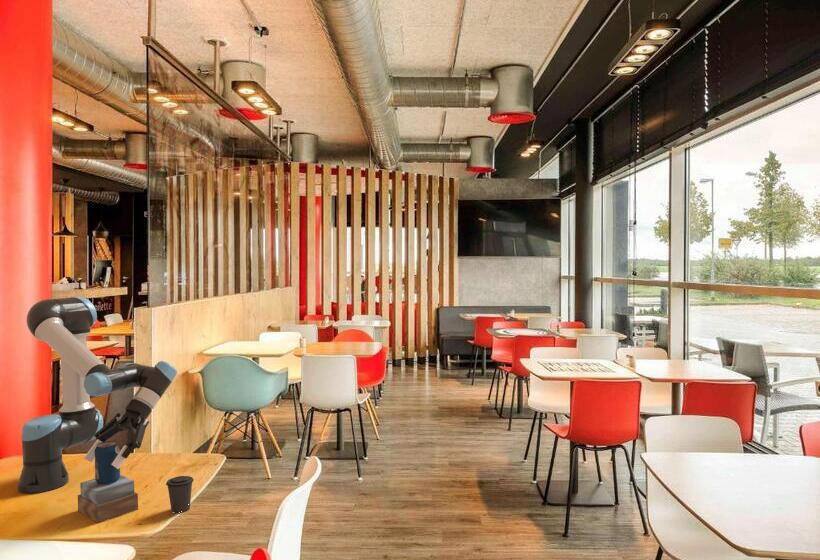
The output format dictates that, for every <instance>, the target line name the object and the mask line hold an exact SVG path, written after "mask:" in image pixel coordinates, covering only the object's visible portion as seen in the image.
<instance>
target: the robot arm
mask: <svg viewBox="0 0 820 560" xmlns="http://www.w3.org/2000/svg"><path fill="white" fill-rule="evenodd" d="M97 314H98V313H97V310H96V307H95V306H94V304H93V303H92V302H91V301H90V300H89V299H88V298H86V297H83V296H82V297H79V296H78V297H77V296H76V297H75V296H71V297H64V298H63V297H62V298H48V299H42V300H39V301H38V302H36V303H35V304H33V305H32V306H31V308H29V310H28V312H27V315H26V326H27V328H28V330H29V332H30V334H32V336H33V337H34V338H36V340H38V341H39V342H45V343H46V344H47V345H48V346H49V348H51V349H52V350H53V351H54V352H55V353H56V354H57V355H58V356H59V357H60V372H61V388H62V401H63V402H62V403H63V404H62V406H60V408H59V409H58V414H56V413H55V414H54V413H53V414H52V413H51V414H45V415H40V416H37V417H33V418H32V419H29V420H28V421H26V422H24V424H23V426H22V427H21V436H20V437H21V446H22V447H21V448H22V469H21V471H20V475H19V478H18V480H17V481H18V482H17V491H18V492H19V493H23V494H37V493H43V492H49V491H52V490H56V489H58V488H60V487H64V486H65V485H67V484H68V483H69V482H70V481H69V479H70V474H69V471H68V470H67V468H66V465H65V463H64V460H63V450H65V449H69V448H72V447H75V446H79V445H81V444H86V443H88V442H90V441H93V440H95V439H96V440H95V441H94V442H93V443H92V446H91V447H90V449H88V452H87V453H86V454H85V456H84V457H83V459H85V460H86V461H88V462H89V463H93V461H94V460H95V453H94V451H95V449H96V447H97V446H96V445H97V444H98V443H101V442H105V441H109V439H111V438H112V437H114V436H115V435H116V434H118V433H119V432H123V431H127V442H126V443H125V445H124V446H122V448H121V449H120V450H119V452H120V453H119V454H118V455H117V457H116V458H115V460H114V461H113V463H112V464H111V465H113V466H114V467H115V468H117V469H119V468H120V469H121V467H122V465H123V464H124V462H125V461H126V459H127V458H129V456H130V454H132V452H133V451H134V450H135V449H137V450H138V449H140V448H141V447H142V443H143V440H144V436H145V433H146V429H147V427H148V425H149V423H150V421H149V420H148V417H150V415H151V414H152V412H153V411H152V410H154V408H155V407H156V405H157V404H158V402H159V401H160V399H161V398H162V397H163V395H164V394H165V393H166V391H167V390H168V389H169V387H170V385H171V384H172V383H173V381H174V380H175V377H176V376H177V374H178V370H177V369H176V368H175V366H174V365H173V364H172V363H170V362H168V361H164V360H160V361H158V362H157V363H156V364H155V365H154V366H149V365H145V364H140V363H138V362H127V363H124V364H123V365H122V366H121V367H118V368H113V369H112V368H109V367H108V365H106V363H104V362H103V361H102V360H101V359H100V358H99V357H98V356H96V355H95V353H93V352H92V351H91V350H90V349H89V348H88V347H87V337H88V336H90V334H91V328H92V327H93V326H94V325H96V322H97V319H98V315H97ZM133 388H138V389H137V391H136V392H135V394H134V395H133V396H132V399H130V401H129V402H128V403H127V405H126V406H125V413H124V414H123V415H122V414H121V413H119V412H118V413H116V414H115V416H114V417H112V419H111V420H110V421H108V422H107V423H106V424H105V425H104V418H103V414H101V413H102V412H101V411H100V410H99V409H98V408H96V406H95V405H96V404H94V403H93V402H91V398H90V397H101V396H106V395H109V394H112V393H116V392H120V391H125V390H129V389H133Z"/></svg>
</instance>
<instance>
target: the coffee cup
mask: <svg viewBox="0 0 820 560" xmlns="http://www.w3.org/2000/svg"><path fill="white" fill-rule="evenodd" d="M194 481H195V479H194V478H193V477H192V476H191V475H179V476H175V477H172V478H170V479H168V480H167V481H166V482H165V483H166V484H165V485H166V486H167V490H168V491H167V492H168V496H169V497H168V498H169V505H170V511H171V512H175V513H174V514H182V513H186V512H188V511H190V509H191V499H192V498H191V497H192V491H193V490H192V487H193V482H194ZM188 504H189V505H188ZM181 511H182V512H181ZM179 512H180V513H179Z"/></svg>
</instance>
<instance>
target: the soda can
mask: <svg viewBox="0 0 820 560" xmlns="http://www.w3.org/2000/svg"><path fill="white" fill-rule="evenodd" d="M96 446H97V447H96V449H95V451H94V453H95V458H94V479H95V480H96V482H97V483H98V484H99V485H109V484H113V483H115V482H117V481H118V479H119V478H120V475H121V467H120V468H119V469H117V468H115V467H114V466H113V465H111V464H112V463H113V461H114V460H115V458H116V457H117V455H118V454H119V453H120V446H119V445H118V442H117V440H106V441H105V442H101V443H98V444H97V445H96Z"/></svg>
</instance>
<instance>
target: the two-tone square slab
mask: <svg viewBox="0 0 820 560" xmlns="http://www.w3.org/2000/svg"><path fill="white" fill-rule="evenodd" d="M79 484H80V494H78V495H77V512H79V513H80V512H81V514H82V513H83V514H82V515H83V516H85V515H86V517H87V516H88V517H87V518H89V519H90V518H91V521H93V522H95V521H96V523H97V524H101V523H104V522H106V521H109V520H111V519H115V518H117V517H118V518H119V517H122V516H123V515H126V514H128V513H129V514H130V513H132V512H135V511H138V510H139V498H138V497H139V496H138V495H139V494H138V492H136V491H135V480H133V479H132V478H129V477H127V476H125V475H122V474H120V478H119V479H118V481H117V482H115V483H113V484H109V485H99V484H98V483H97V482H96V480H95V478H92V479H90V480H86V481H83V482H79ZM108 519H109V520H108ZM105 520H106V521H105Z"/></svg>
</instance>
